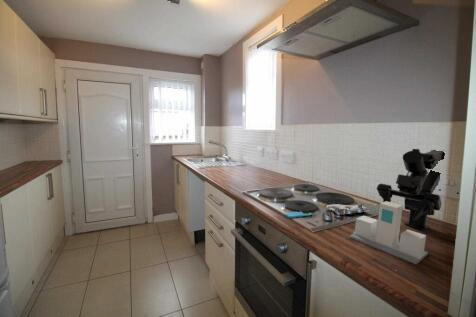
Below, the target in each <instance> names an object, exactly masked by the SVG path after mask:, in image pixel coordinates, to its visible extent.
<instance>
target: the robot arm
mask: <svg viewBox="0 0 476 317" xmlns="http://www.w3.org/2000/svg"><path fill="white" fill-rule="evenodd" d="M436 150H437V149H431V150H430V151H427V152H425V153H424V152H421V150H420V149H419V148H412V150H409V151H407V152H404V154H402V161H403V163H404V164H403V165H404V168H405V170H406V171H407V173H406V175H405V174H397V178H396V182H395V183H396V184H397V189H398V190H397V189H393V188H392V185H391V184H386V183H379V184H378V185H377V186H376V190H377V193H378V195H379V196H380V197H381V198H382V203H383V202H385V201H387V202H391V201H392V199H391V198H392V197H393V196H395V197H400V198H404V210H407V211H409V213H408V215H409V216H408V221H406V222H404V225H405V226H408V227H410V228H411V227H412V228H414V229H417V230H420V231H424V230H427V229H429V228H430V227H431V226H430V225H427V221H428V216H429V217H430V216H434V215H435V211H440V210H441V208H442V199H441V196H440V195H439V194H435V193H434V191H435V190H436V188H437V186H438V185H439V182H440V181H441V180H440V174H441V173H439V172H435V171H432V170H430V172H429V171H428V170H429V169H433V168H434V167H435V166H436V164H438V161H440V160H443V159H444V156H445V153H444V152H443V151H444V150H443V151H436ZM439 180H440V181H439ZM391 203H392V202H391Z"/></svg>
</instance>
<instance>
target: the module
mask: <svg viewBox="0 0 476 317" xmlns="http://www.w3.org/2000/svg"><path fill="white" fill-rule="evenodd" d="M403 209H404V205H402V204H398V203H395V202H387V201H385V202H383V201H382V202H380V203H379V209H378V217H377V220H378V223H377V231H376V233H377V234H376V241H378V242H380V243H383V244H386V245H388V246H391V247H393V246H394V245H396V244H397V243H398V241H399V238H400V237H399V236H400V229H401V224H402V223H401V222H402V215H403Z"/></svg>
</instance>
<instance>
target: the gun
mask: <svg viewBox="0 0 476 317" xmlns="http://www.w3.org/2000/svg"><path fill="white" fill-rule="evenodd" d="M358 205H359V204H356V205H355V204H354V205H351V204H349V205H348V204H339V203H337V204H336V203H335V204H328V205H326V207H325V211H326V210H328V211H331V210H335V209H347V210H351V211H356V210H357V209H358ZM349 208H350V209H349ZM362 208H363V210H364V212H366V213H369V212H370V210H371V209H370V208H368V207H366V206H363V205H362Z"/></svg>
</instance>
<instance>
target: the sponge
mask: <svg viewBox="0 0 476 317" xmlns="http://www.w3.org/2000/svg"><path fill="white" fill-rule="evenodd" d="M309 215H312V216H313V213H311V212H310V213H309V214H303V213H299V212H297V211H291V212H287V213H285V214H284V217H287V218H288V219H291V218H292V219H297V218H296V217H299V218H304V217H303V216H307V217H310V216H309Z"/></svg>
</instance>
